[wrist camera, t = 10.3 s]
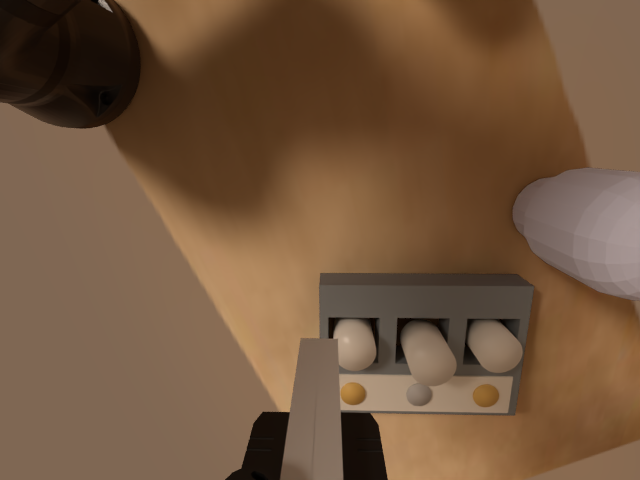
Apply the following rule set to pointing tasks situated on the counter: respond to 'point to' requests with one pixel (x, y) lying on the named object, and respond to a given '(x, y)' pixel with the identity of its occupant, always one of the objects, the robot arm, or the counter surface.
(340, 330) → the button
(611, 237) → the soap bottle
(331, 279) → the board
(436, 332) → the button
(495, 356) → the button
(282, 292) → the counter surface
